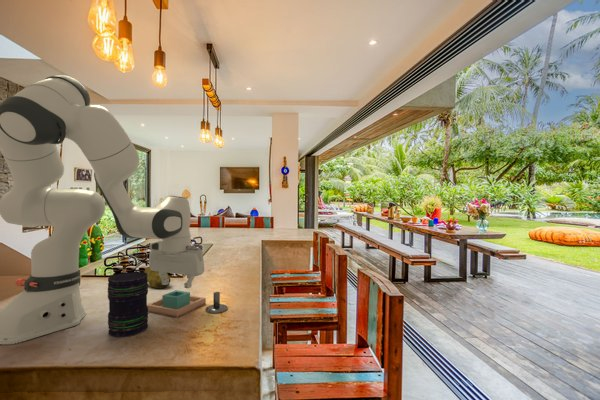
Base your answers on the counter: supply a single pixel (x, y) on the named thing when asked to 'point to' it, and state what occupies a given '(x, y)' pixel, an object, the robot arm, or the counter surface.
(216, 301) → the grey peg stand
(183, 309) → the tray
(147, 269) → the potato
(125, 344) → the counter surface
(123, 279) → the storage jar
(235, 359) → the counter surface
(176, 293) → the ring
